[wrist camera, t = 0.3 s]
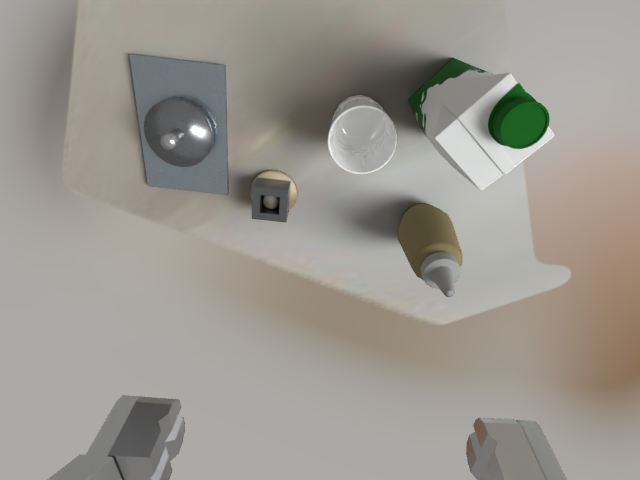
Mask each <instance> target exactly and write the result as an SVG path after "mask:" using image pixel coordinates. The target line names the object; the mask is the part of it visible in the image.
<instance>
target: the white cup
mask: <svg viewBox="0 0 640 480" xmlns="http://www.w3.org/2000/svg"><path fill="white" fill-rule="evenodd" d="M396 144H397V132H396V128H395V126H394V123H393V122H392V120H391V119H390V117H389V116H388V115H387V113H386V112H385V111H384V109H383V108H382V107H381V106H380V105H379V104H378V103H377V102H375V101H374V100H373V99H372V98H370V97H367V96H363V95H356V96H350V97H348V98H347V99H345V100H344V101H343V102H341V103H340V104H339V106H338V108H337V110H336V112H335V113H334V116H333V119H332V121H331V125H330V130H329V134H328V149H329V152H330V155H331V157H332V159H333V160H334V162H335V163H336V164H337V165H338V166H339V167H341V168H342V169H344V170H345V171H348V172H350V173H354V174H367V173H371V172H374V171H376V170H378V169H380V168H382V167H383V166H384V165H385V164H386V163H387V162H388V161H389V160H390V159H391V157H392V155H393V153H394V151H395V148H396Z"/></svg>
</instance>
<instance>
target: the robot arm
mask: <svg viewBox="0 0 640 480" xmlns="http://www.w3.org/2000/svg"><path fill="white" fill-rule="evenodd" d="M180 409H181V405H180V401H179V400H178V399H166V398H152V397H142V396H126V395H123V396H121V397H120V399H118V400H117V402H116V403H115V405H114V407H113V408H112V410H111V412H110V414H109V415H108V417H107V419H106V421H105V422H104V424H103V426H102V427H101V429H100V431H99V432H98V434H97V436H96V438H95V440H94V442H93V443H92V445H91V446H90V448H89V450H88V452H87V453H86V455H79V456H78V457H77V458H75V459H74V460H72V461H71V462H70V463H68V464H67V465H66V466H65V467H63V468H62V469H61V470H60V471H58V472H57V473H55V474H54V475H53V476H51V477H50V478H49V479H48V480H169V479H170V476H171V473H172V467H171V463H170V461H171V460H172V459H173V458H174V457H175V456H176V455H177V454H179V451H180V448H181V445H182V442H183V437H184V432H185V422H184V417H183V416H181V415H180V414H179V411H180ZM474 429H475V432H474V433H472V434H471V435H469V438H468V441H467V449H466V450H467V452H466V454H467V460H468V464H469V468H470V472H471V473H472V474H473V475H474V476H475V478H476V479H477V480H567V478H566V476H565V474H564V472H563V470H562V468H561V466H560V464H559V462H558V460H557V458H556V456H555V455H554V452H553V450H552V449H551V446H550V444H549V443H548V440H547V439H546V436H545V435H544V433H543V431H542V429H541V427H540V425H539V424H538V423H537V422H535V421H526V420H514V419H495V418H478V419H476V421H475V423H474Z"/></svg>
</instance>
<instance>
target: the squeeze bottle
mask: <svg viewBox="0 0 640 480" xmlns="http://www.w3.org/2000/svg"><path fill="white" fill-rule="evenodd" d="M397 232H398V240H399V242H400V244H401V246H402V249H403V251H404V253H405V255H406V257H407V259H408V261H409V263H410V265H411V267H412V269H413V271H414V272H415V274H416V275H417V276H418V277H419V278H421V279H423V280H424V281H425V283H426V284H427V285H429V286H430V287H432V288H438V289H440V290H441V291H442V292H443V294H444V295H445V296H447V297H451V296H453V295H454V293H455V292H454V283H455V282H456V281H457V280H458V279H459V277H460V275H461V268H460V267H461V265H462V252H461V249H460V246H459V243H458V240H457V236H456V233H455V230H454V227H453V224H452V222H451V220H450V218H449V216H448V215H447V214H446V213H444V212H443V211H442V210H440V209H438V208H436V207H434V206H431V205H428V204H417V205H414V206H412V207H410V208H409V209H408V210H407V211H406V212H405V213H404V215H403V217H402V220H401V222H400V225H399V228H398V231H397Z"/></svg>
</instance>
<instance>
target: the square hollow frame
mask: <svg viewBox="0 0 640 480" xmlns="http://www.w3.org/2000/svg"><path fill="white" fill-rule="evenodd" d="M290 188H291V181H286V180H277V179H269V178H260V177H257V178H256V180H255V182H254V184H253V186H252V219H260V220H269V221H278V222H286V221H287V217H288V213H289V202H290ZM264 195H265V196H274V197H280V204H278V205H277V207H275V208H273V209H270V208H267V207H266V206H265V205H264V203H263V199H264Z"/></svg>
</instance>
